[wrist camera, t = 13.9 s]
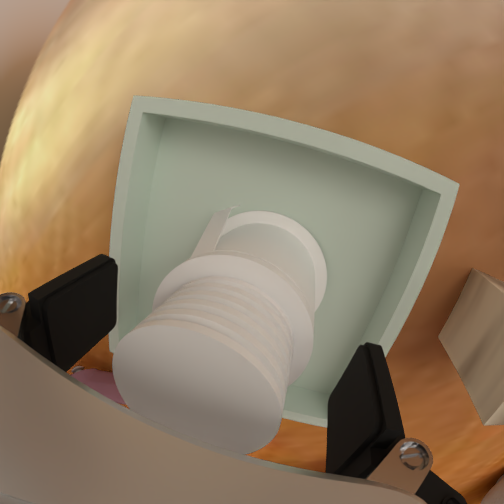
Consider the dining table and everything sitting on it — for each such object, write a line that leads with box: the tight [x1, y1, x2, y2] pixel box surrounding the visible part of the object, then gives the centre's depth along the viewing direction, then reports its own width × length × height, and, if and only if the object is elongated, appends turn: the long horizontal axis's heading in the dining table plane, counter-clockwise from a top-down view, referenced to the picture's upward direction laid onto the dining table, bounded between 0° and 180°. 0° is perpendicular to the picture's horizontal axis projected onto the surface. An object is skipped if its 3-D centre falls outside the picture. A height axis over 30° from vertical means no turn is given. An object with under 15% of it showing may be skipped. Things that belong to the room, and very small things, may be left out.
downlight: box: [112, 205, 327, 455], centre depth 11 cm, size 8×7×10 cm
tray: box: [109, 96, 460, 428], centre depth 15 cm, size 16×16×3 cm
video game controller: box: [71, 366, 126, 404], centre depth 21 cm, size 10×5×7 cm, turn 134°
